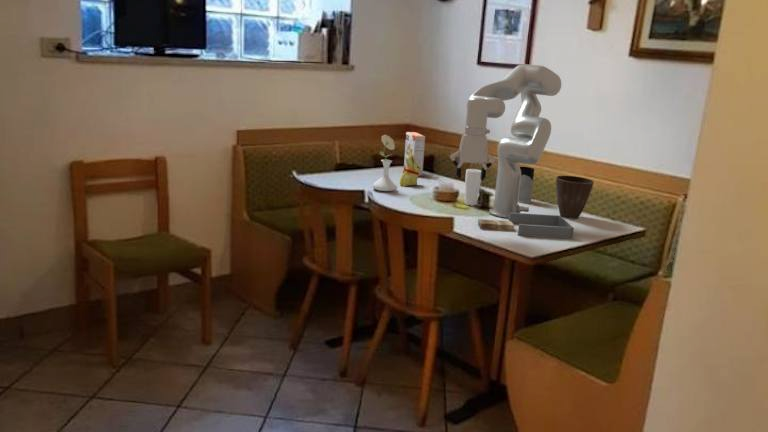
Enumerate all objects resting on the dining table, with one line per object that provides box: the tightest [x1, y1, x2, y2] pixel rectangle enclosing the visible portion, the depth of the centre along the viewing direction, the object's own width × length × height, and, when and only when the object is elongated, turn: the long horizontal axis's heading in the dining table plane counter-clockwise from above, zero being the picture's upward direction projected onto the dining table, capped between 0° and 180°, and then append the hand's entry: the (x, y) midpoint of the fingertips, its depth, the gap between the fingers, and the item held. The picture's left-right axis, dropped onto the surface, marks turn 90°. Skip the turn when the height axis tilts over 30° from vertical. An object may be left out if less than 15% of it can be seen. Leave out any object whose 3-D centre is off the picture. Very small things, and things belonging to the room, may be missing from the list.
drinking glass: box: [464, 168, 482, 207], centre depth 284 cm, size 7×7×15 cm
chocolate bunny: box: [399, 154, 420, 187], centre depth 316 cm, size 7×11×15 cm, turn 124°
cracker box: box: [403, 131, 426, 177], centre depth 344 cm, size 14×6×21 cm, turn 17°
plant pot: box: [555, 175, 594, 220], centre depth 274 cm, size 15×15×16 cm
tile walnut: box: [477, 218, 497, 231], centre depth 251 cm, size 6×6×2 cm
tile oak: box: [494, 220, 515, 232], centre depth 251 cm, size 6×6×2 cm
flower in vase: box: [372, 134, 398, 192], centre depth 300 cm, size 13×11×25 cm
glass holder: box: [518, 166, 535, 204], centre depth 301 cm, size 9×14×15 cm, turn 163°
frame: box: [508, 212, 575, 239], centre depth 251 cm, size 20×18×4 cm
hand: (470, 178), depth 246 cm, fingers open, 8 cm apart
